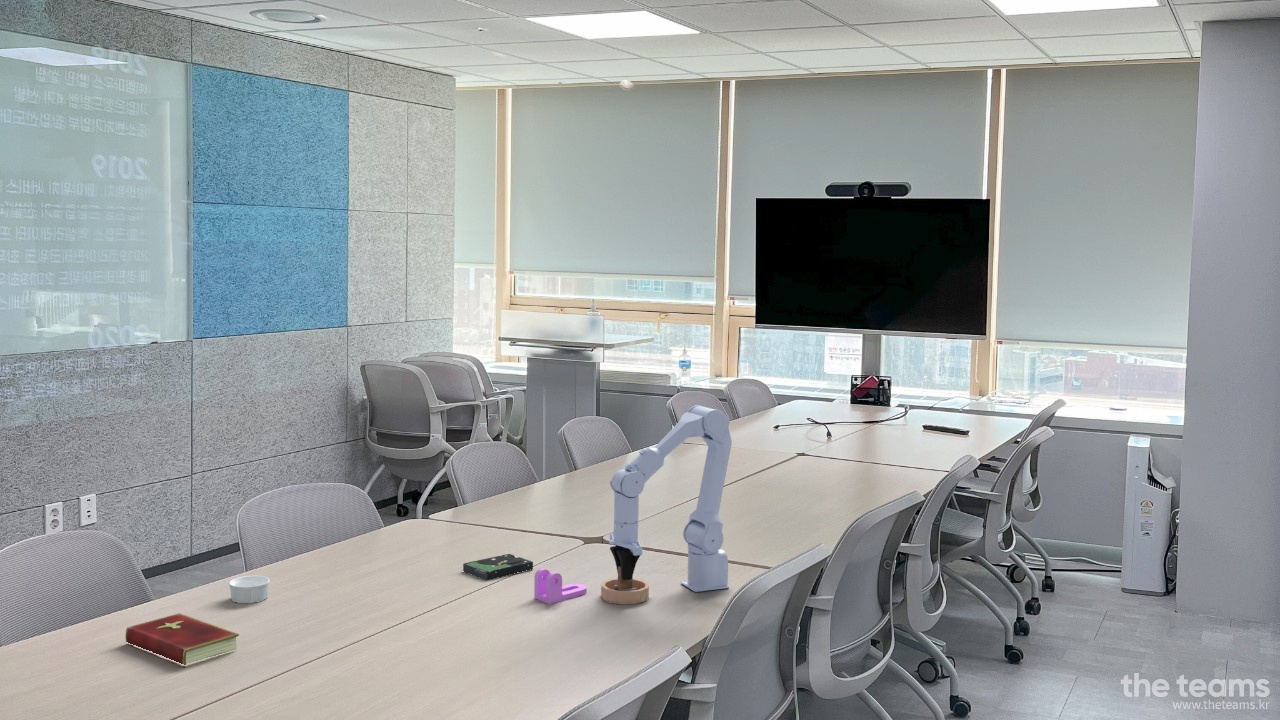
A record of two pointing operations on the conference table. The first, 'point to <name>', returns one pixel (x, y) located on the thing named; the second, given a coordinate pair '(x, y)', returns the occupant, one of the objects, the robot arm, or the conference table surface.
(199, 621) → the hardcover book
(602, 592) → the round tan tray
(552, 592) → the bracket
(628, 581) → the long tan beam
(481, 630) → the conference table surface
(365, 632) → the conference table surface
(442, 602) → the conference table surface
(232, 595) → the ramekin
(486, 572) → the disk drive
